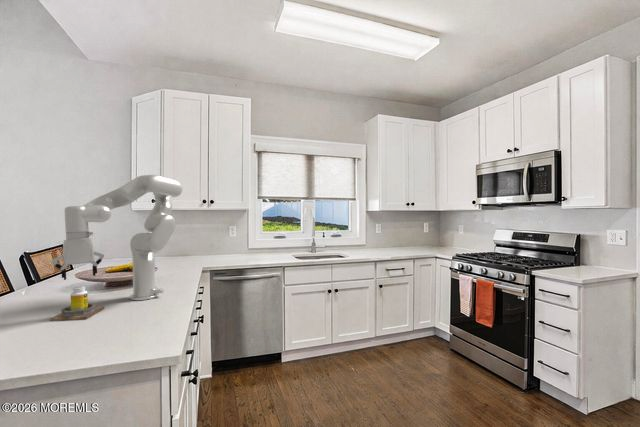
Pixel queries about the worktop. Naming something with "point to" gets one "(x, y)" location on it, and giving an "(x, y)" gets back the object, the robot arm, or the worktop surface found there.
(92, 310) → the rosette collar
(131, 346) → the worktop surface
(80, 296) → the supplement bottle
